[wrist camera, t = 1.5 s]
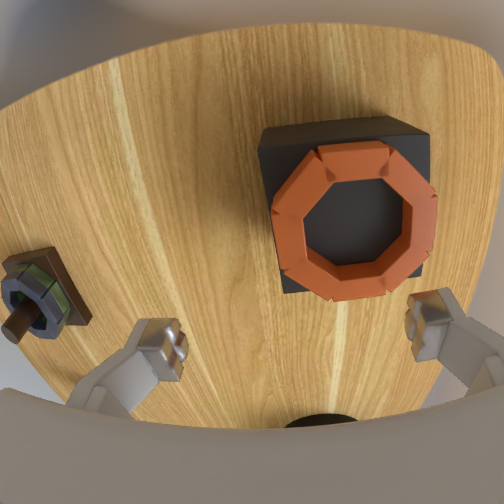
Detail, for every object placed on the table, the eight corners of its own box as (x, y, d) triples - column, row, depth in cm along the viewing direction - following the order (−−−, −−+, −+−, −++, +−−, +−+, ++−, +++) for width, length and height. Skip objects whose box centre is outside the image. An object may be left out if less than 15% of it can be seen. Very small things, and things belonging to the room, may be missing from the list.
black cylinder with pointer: (371, 402, 36) (376, 448, 29) (357, 452, 44) (359, 486, 38) (266, 408, 39) (260, 454, 32) (278, 456, 47) (275, 490, 40)
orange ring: (261, 153, 13) (259, 160, 12) (426, 138, 12) (439, 144, 11) (286, 291, 17) (286, 307, 16) (418, 274, 16) (426, 289, 15)
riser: (263, 128, 18) (256, 149, 13) (390, 116, 17) (430, 134, 12) (283, 241, 23) (283, 294, 18) (393, 228, 21) (421, 276, 16)
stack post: (8, 256, 27) (-33, 299, 20) (54, 246, 25) (6, 298, 18) (43, 316, 31) (12, 361, 24) (92, 316, 30) (60, 371, 23)
